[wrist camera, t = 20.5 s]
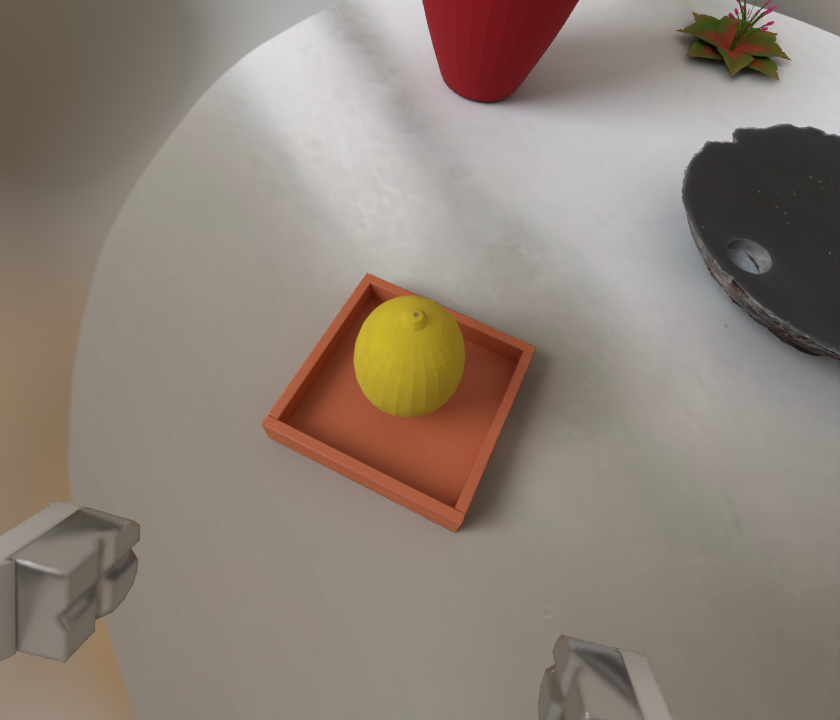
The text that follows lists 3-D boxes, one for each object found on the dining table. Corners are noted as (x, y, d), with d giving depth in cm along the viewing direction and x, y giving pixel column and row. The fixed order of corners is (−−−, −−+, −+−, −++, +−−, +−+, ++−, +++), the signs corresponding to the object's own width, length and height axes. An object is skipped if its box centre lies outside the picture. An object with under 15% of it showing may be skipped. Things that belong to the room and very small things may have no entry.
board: (651, 371, 31) (698, 327, 26) (647, 148, 42) (679, 90, 37) (1007, 452, 30) (1117, 420, 26) (909, 204, 41) (974, 152, 36)
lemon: (449, 444, 27) (475, 379, 20) (348, 432, 27) (339, 361, 20) (455, 357, 30) (481, 272, 23) (364, 345, 30) (361, 257, 23)
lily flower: (790, 100, 47) (829, 51, 43) (666, 66, 48) (692, 14, 44) (787, 37, 53) (820, -12, 49) (675, 8, 54) (700, -43, 50)
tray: (455, 532, 25) (461, 525, 24) (268, 437, 27) (261, 423, 25) (527, 363, 30) (536, 346, 29) (367, 291, 32) (366, 272, 30)
